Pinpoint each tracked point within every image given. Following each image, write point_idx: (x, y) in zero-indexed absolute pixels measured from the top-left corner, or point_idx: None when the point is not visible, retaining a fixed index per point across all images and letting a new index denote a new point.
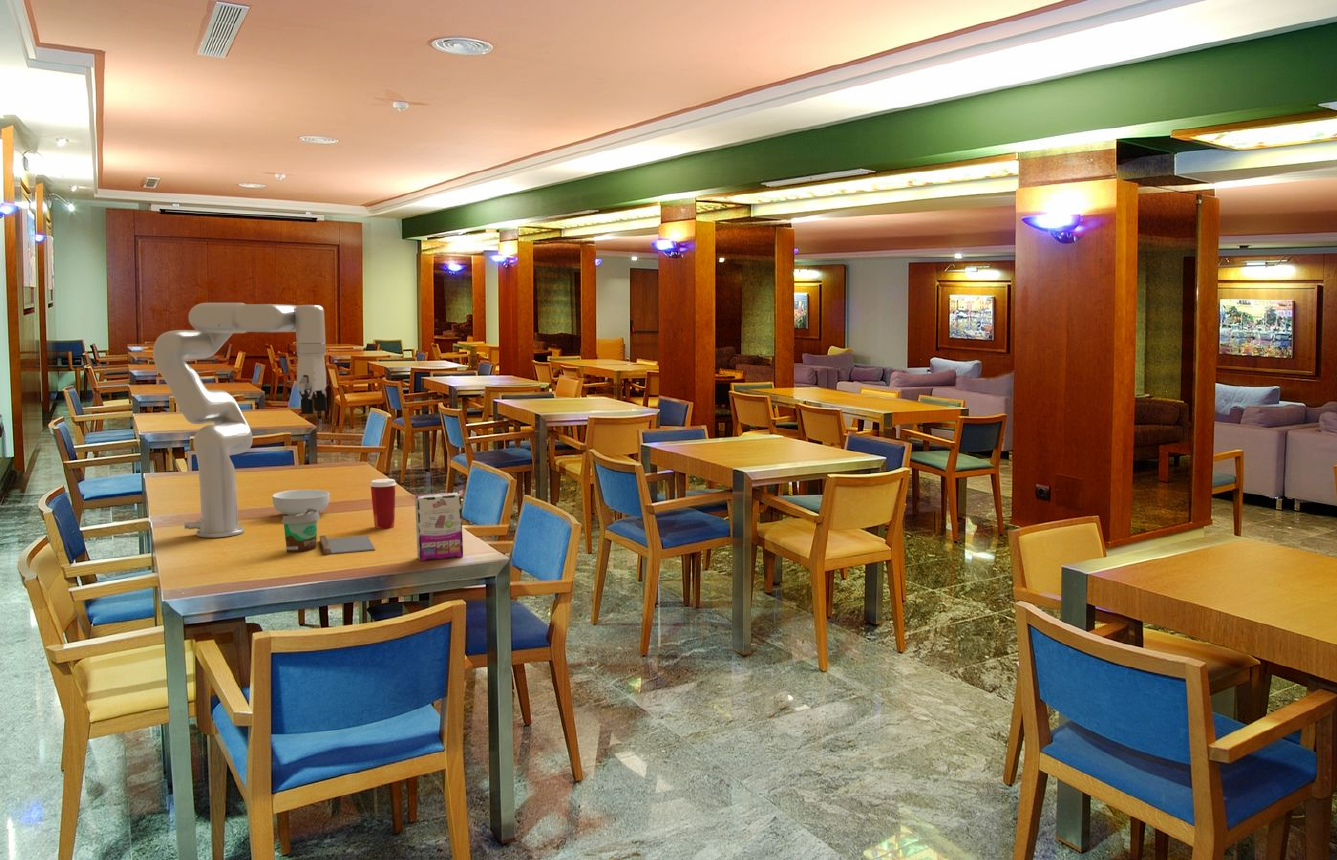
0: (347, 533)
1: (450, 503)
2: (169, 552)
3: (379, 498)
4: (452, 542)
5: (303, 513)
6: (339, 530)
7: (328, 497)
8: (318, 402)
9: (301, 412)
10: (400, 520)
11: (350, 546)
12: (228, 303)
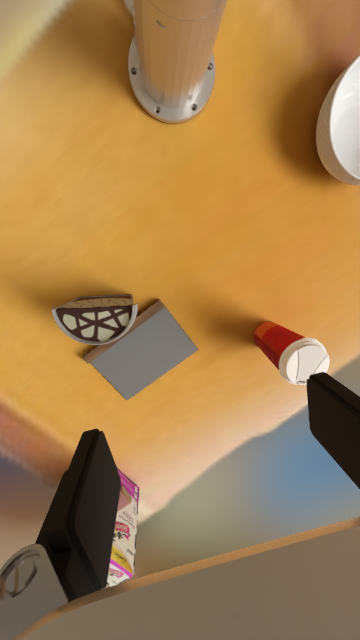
0: (216, 307)
1: None
2: (7, 84)
3: (271, 356)
4: None
5: (110, 312)
6: (234, 283)
7: None
8: (347, 434)
9: (81, 436)
10: (313, 331)
11: (131, 364)
12: None
